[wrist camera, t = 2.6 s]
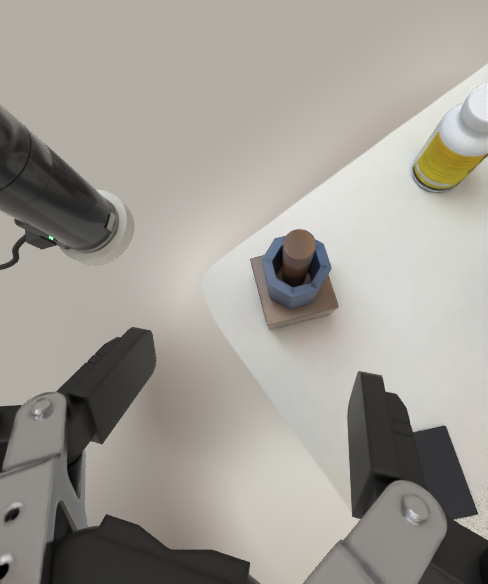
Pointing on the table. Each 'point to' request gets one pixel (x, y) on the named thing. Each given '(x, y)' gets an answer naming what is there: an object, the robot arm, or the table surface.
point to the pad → (444, 472)
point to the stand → (294, 283)
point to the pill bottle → (455, 144)
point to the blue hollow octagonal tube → (299, 294)
